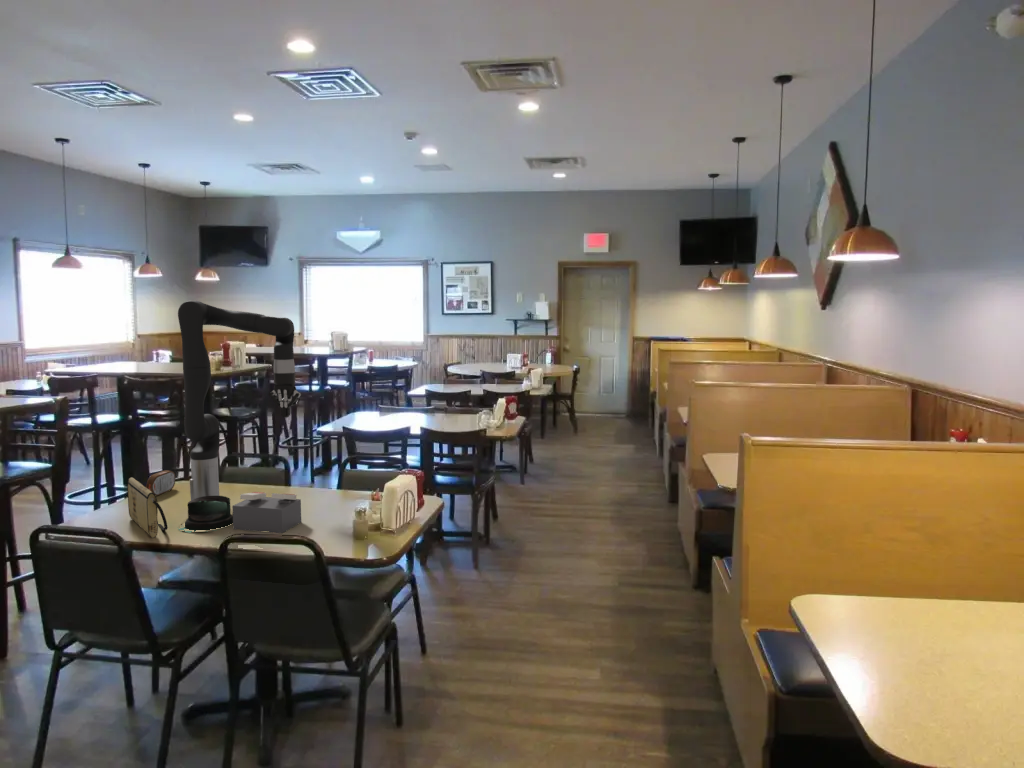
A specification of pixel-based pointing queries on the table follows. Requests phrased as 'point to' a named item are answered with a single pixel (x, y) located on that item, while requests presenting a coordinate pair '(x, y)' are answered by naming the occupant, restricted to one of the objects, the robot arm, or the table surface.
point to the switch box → (267, 514)
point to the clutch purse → (144, 507)
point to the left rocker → (253, 496)
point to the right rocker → (284, 496)
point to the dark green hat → (208, 513)
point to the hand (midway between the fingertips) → (285, 417)
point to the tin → (161, 482)
